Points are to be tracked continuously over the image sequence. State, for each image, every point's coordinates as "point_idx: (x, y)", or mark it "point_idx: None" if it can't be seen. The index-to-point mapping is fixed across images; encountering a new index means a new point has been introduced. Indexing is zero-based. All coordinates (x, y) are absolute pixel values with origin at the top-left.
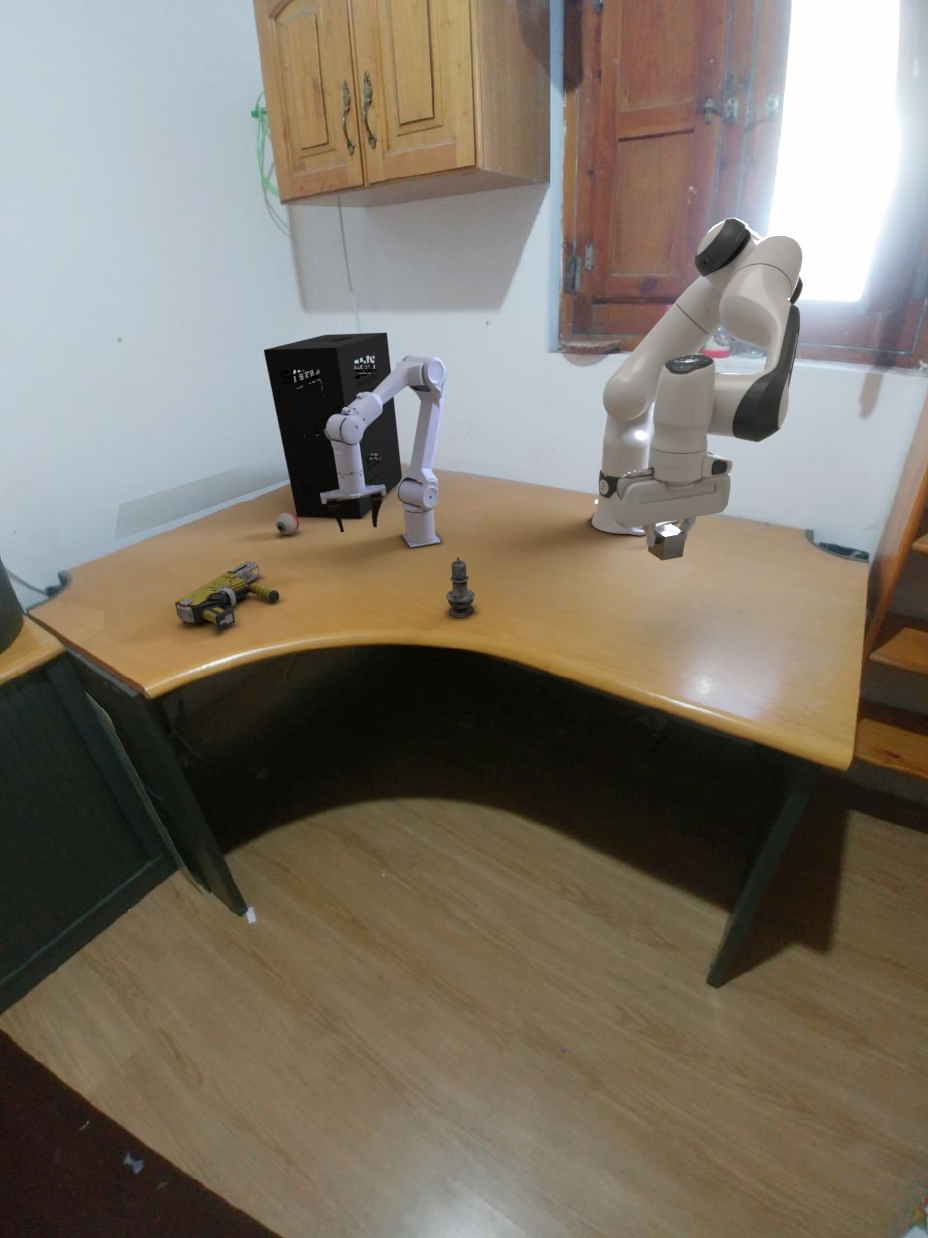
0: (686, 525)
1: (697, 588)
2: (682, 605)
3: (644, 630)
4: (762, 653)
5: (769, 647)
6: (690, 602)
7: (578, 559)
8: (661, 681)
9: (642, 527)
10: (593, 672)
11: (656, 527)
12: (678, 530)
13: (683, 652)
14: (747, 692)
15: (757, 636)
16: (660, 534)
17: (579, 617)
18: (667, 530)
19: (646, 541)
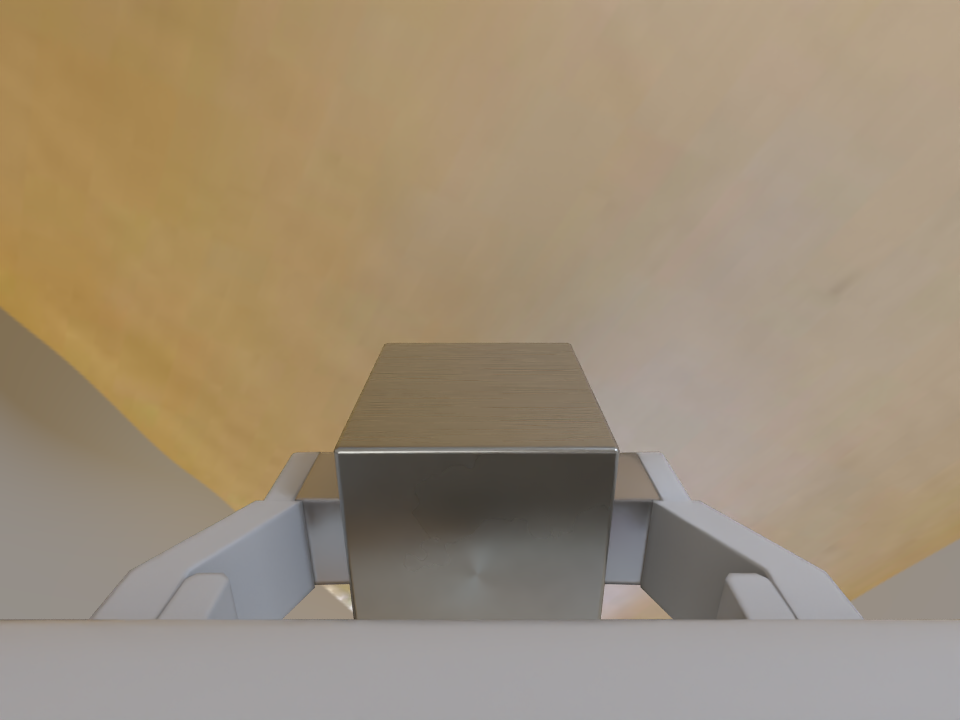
0: (701, 608)
1: (864, 35)
2: (682, 164)
3: (428, 285)
4: None
5: (724, 496)
6: (730, 152)
7: None
8: None
9: (152, 559)
10: (168, 440)
11: (405, 468)
12: (573, 609)
13: None
14: None
15: (744, 442)
16: (354, 614)
17: (214, 89)
18: (468, 577)
19: (290, 461)
